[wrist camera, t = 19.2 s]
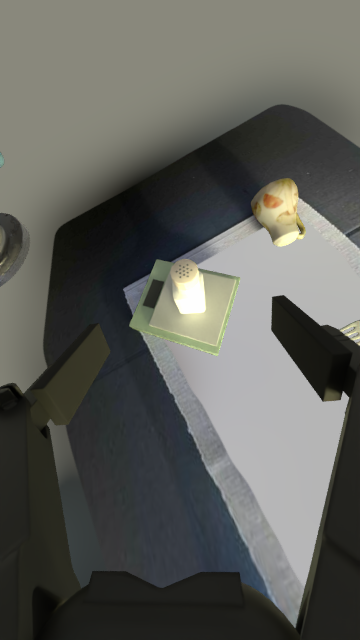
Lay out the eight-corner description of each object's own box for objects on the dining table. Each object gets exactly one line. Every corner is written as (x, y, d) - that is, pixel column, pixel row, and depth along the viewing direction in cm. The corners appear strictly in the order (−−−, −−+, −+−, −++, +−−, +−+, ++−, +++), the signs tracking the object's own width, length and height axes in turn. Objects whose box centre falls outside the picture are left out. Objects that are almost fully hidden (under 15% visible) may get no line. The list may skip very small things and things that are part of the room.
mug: (267, 260, 35) (257, 203, 28) (254, 236, 42) (244, 185, 35) (315, 243, 32) (316, 176, 26) (294, 221, 39) (290, 162, 33)
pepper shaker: (204, 290, 32) (200, 253, 23) (205, 313, 30) (202, 285, 21) (179, 292, 32) (166, 257, 23) (180, 315, 31) (166, 288, 22)
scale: (133, 329, 35) (126, 324, 32) (159, 265, 38) (155, 256, 35) (217, 356, 31) (217, 353, 28) (238, 283, 34) (241, 274, 31)
